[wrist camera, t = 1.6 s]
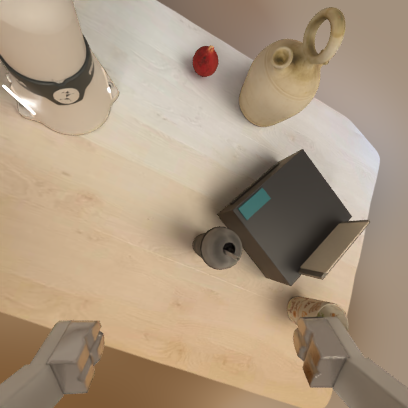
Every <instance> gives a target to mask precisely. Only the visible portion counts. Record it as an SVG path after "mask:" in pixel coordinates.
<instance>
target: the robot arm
mask: <svg viewBox="0 0 408 408" xmlns="http://www.w3.org/2000/svg"><path fill="white" fill-rule="evenodd" d="M0 59H1V61H2V63H3V65H4V67H5V68H6V69H7V71H8V73H6V77H7V79H8V80H9V82H11V83H12V85H11V86H10V87H11V89H12V90H13V92H14V93H15V94H16V95H15V94H14V93H13V92H11V91H10V90H9V89H8V88H7V87H6V86H5V85H2V86H3V87H4V88H5V89H6V90H7V91H8V92H9V93H10V94H11V95H12V96H14V97H15V98H16V99H17V105H18V110H19V112H20V114H21V115H22V116H23V117H24V118H27V119H30V120H34V121H38V122H40V123H42V124H44V125H45V126H47V127H48V128H50V129H52V130H54V131H56V132H59V133H62V134H67V135H82V134H86V133H89V132H92V131H94V130H96V129H97V128H99V127H100V126H101V125H102V124H103V123H104V122H105V121H106V119H107V117H108V115H109V112H110V108H111V105H112V103H113V102H114V101H115V100H116V99H117V98H118V96H119V92H118V89H117V87H116V86H115V84H114V83H113V81H112V80H111V78H110V77H109V76H108V74H107V73H106V71H105V70H104V68H103V67H102V65H101V64H100V62H99V61H98V59H97V58H96V57H95V55H94V54H93V52H92V51H91V49H90V48H89V45H88V43H87V40H86V39H85V37H84V35H83V34H82V31H81V28H80V24H79V21H78V17H77V14H76V10H75V7H74V4H73V0H0ZM109 86H110V87H111V88H109ZM24 106H25V107H24ZM297 326H298V328H297V329H296V330H295V331H294V335H293V340H294V346H295V350H296V353H297V355H298V357H299V358H300V359H302V360H303V361H304V364H303V370H304V373H305V375H306V378H307V380H308V383H309V385H310V387H325V388H333V390H334V391H335V392H336V393H337V394H338V396H339V397H340V398H341V399H342V400H343V401H344V402H345V403H346V404H347V405H348V407H349V408H408V388H407V387H406V386H405V385H403V384H402V383H401V382H399V381H398V380H397V379H396V378H394V377H393V376H391V375H390V374H389V373H387V372H386V371H385V370H384V369H383V368H381V367H380V366H379V365H377V364H376V363H375V362H373V361H372V360H371V359H369V358H364V356H363V355H362V353H361V352H360V350H359V349H358V347H357V346H356V344H355V342H354V341H353V339H352V338H351V336H350V335H349V333H348V332H347V330H346V329H345V327H344V326H343V324H342V323H341V321H340V320H339V319H338V318H337V317H300V318H298V320H297ZM100 328H101V324H100V321H74V320H68V321H59V322H58V323H56V324H55V326H54V327H53V329H52V330H51V332H50V333H49V335H48V337H47V338H46V340H45V341H44V343H43V344H42V346H41V348H40V349H39V351H38V352H37V354H36V356H35V357H34V358H33V360H32V362H31V363H30V365H24V366H23V367H22V368H21V369H20V370H18V371H17V372H16V373H14V374H13V375H12V376H10V377H9V378H8V379H7V380H5V381H4V382H3V383H1V384H0V408H53V407H54V406H55V405H56V404H57V403H58V402H59V400H60V399H61V398H62V397H63V394H76V393H87V392H88V390H89V387H90V385H91V382H92V380H93V377H94V374H95V370H94V365H95V364H96V363H97V362H98V361H99V360H100V358H101V355H102V352H103V348H104V335H103V333H102V332H100Z"/></svg>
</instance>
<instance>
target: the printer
mask: <svg viewBox="0 0 408 408" xmlns="http://www.w3.org/2000/svg"><path fill="white" fill-rule="evenodd" d="M217 215H218V216H219V218H220V219H221V220H222V221H223V223H224V224H225V225H226V227H227V228H228V229H230V230H232V231H234V232H235V233H236V234H237V235H238V236H239V238H240V240H241V243H242V247H243V248H244V250H245V251H246V252H247V254H248V255H249V256H250V257H251V259H252V260H253V261H254V262H255V264H256V265H257V266H258V268H259V269H260V270H261V271H262V273H263V274H264V275H265V277H266V278H268V279H271V280H274V281H277V282H280V283H283V284H286V285H289V286H292V285H293V283H294V282H295V281H296V280H297V279H298V278H299V277H300V275H301V274H302V275H306V276H310V277H314V278H318V279H324V278H325V276H326V275H327V274H328V273H329V272H330V270H331V269H332V268H333V267H334V265H335V264H336V263H337V262H338V261H339V259H340V258H341V257H342V256H343V255H344V253H345V252H346V251H347V250H348V249H349V247H350V246H351V245H352V244H353V243H354V241H355V240H356V239H357V238H358V236H359V235H360V234H361V233H362V232H363V230H364V229H365V228H366V227H367V226H368V224H369V223H370V221H369V220H359V221H349V220H350V218H351V217H352V216H351V215H350V213H349V212H348V210H347V209H346V208H345V206H344V205H343V204H342V202H341V201H340V199H339V198H338V197H337V195H336V194H335V193H334V191H333V190H332V189H331V187H330V186H329V184H328V183H327V182H326V180H325V179H324V178H323V176H322V175H321V173H320V172H319V171H318V169H317V168H316V167H315V165H314V164H313V163H312V161H311V160H310V158H309V157H308V156H307V154H306V153H305V152H304V150H303V149H302V150H300V151H298V152H296V153H294V154H292V155H291V156H289V157H287V158H285V159H283V160H281V161H279V162H278V163H277V164H275V165H274V166H273V167H272V168H271V169H269V170H268V171H267V172H266V173H265V174H264V175H262V176H261V177H260V178H259V179H258V180H257V181H255V182H254V183H253V184H252V185H251V186H250V187H248V188H247V189H246V190H245V191H244V192H242V193H241V194H240V195H239V196H238V197H237V198H235V199H234V200H233V201H232V202H231V203H230V204H229V205H227V206H226V207H225V208H224V209H223V210H222V211H220V212H219V213H218V214H217Z"/></svg>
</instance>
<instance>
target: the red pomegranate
mask: <svg viewBox="0 0 408 408" xmlns="http://www.w3.org/2000/svg"><path fill="white" fill-rule="evenodd" d="M217 66H218V56H217V54H216V52H215V50H214V47H213V46H211V45H210V46H203V47H201V48H199V49H198V50H197V51H196V53H195V55H194V57H193V67H194V70H195V72H196V73H197V74H198V75H200V76H202V77H207V76H210V75H212V74H213V73H214V72H215V71H216V69H217Z"/></svg>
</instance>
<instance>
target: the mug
mask: <svg viewBox="0 0 408 408" xmlns="http://www.w3.org/2000/svg"><path fill="white" fill-rule="evenodd" d="M287 313H288V316H289V318H290V320H291V321H292V322H294V323H295V324H296V325H297V320H298V318H300V317H337V318H338V319H339V320H340V321H341V323H342V324H343V326H344V327H345V329H346V330H347V332H348V319H347V316H346V313H345V312H344V310H343V309H342V308H341V307H340V306H338V305H337V304H334V303H330V302H325V301H320V300H315V299H310V298H304V297H294V298H292V299H291V300H290V302H289V304H288V307H287Z"/></svg>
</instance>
